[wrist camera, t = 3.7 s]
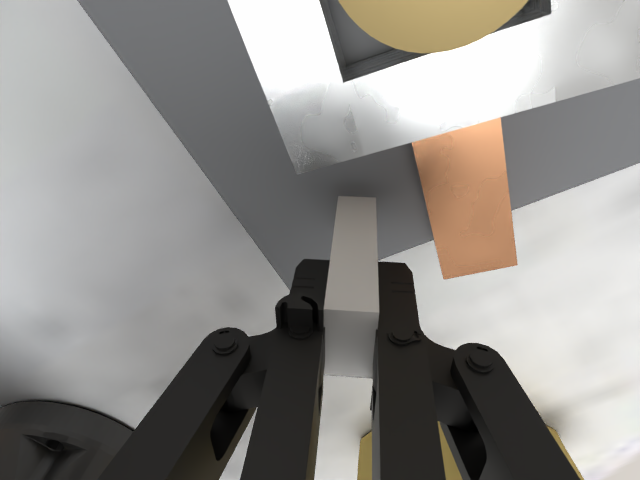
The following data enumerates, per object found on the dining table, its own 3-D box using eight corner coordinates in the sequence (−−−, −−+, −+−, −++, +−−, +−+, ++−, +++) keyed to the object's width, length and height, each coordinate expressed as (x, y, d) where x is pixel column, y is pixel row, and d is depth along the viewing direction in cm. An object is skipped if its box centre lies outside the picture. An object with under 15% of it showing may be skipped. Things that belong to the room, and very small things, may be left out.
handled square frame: (169, -218, 12) (125, -256, 10) (617, -478, 9) (695, -613, 7) (347, 263, 20) (346, 298, 18) (605, 207, 17) (637, 241, 15)
